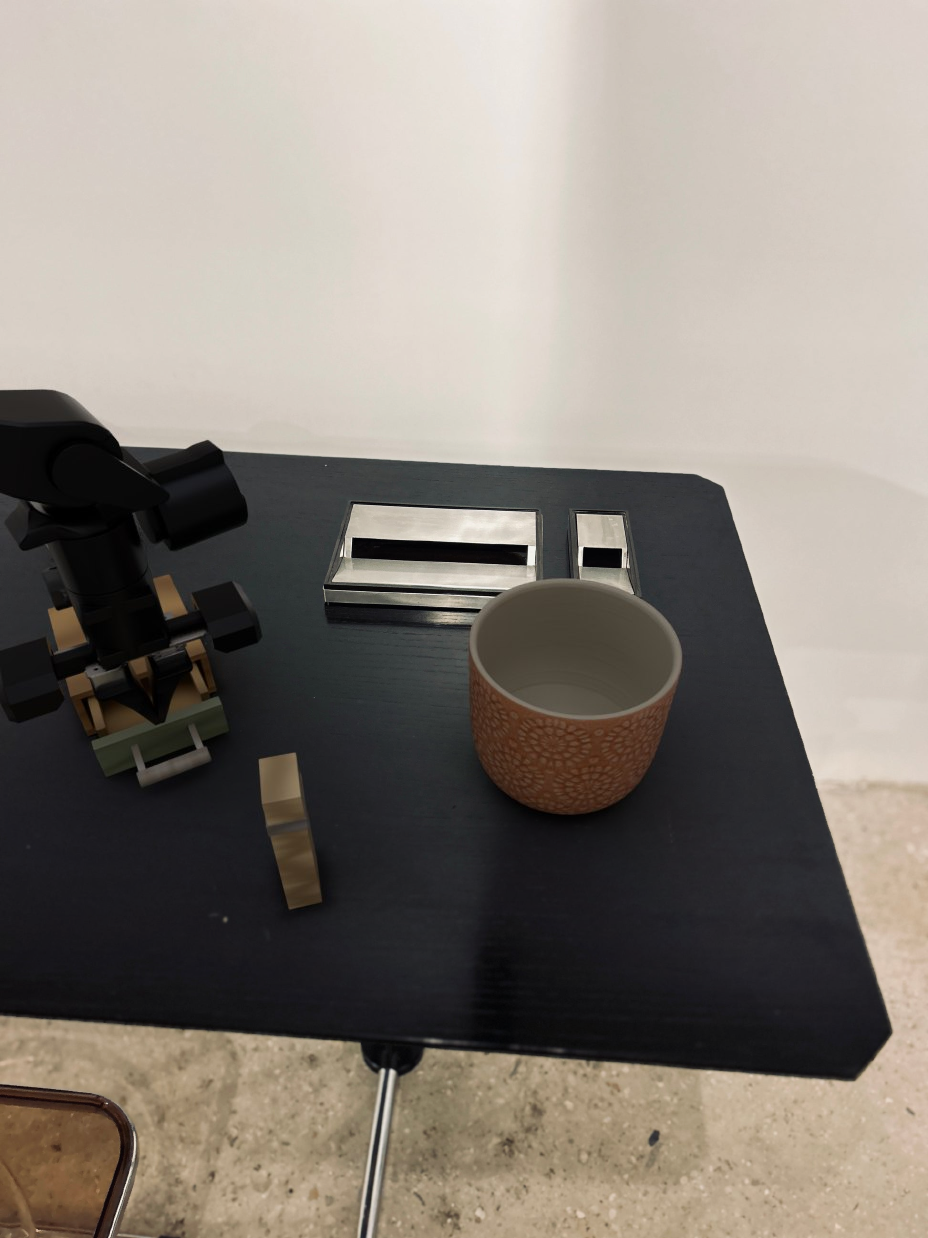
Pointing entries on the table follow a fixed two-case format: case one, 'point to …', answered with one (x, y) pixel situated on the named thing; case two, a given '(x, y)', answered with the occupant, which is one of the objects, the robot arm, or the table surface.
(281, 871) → the block
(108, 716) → the drawer
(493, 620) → the planter
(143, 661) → the cabinet
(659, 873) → the table surface
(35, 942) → the table surface
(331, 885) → the table surface
